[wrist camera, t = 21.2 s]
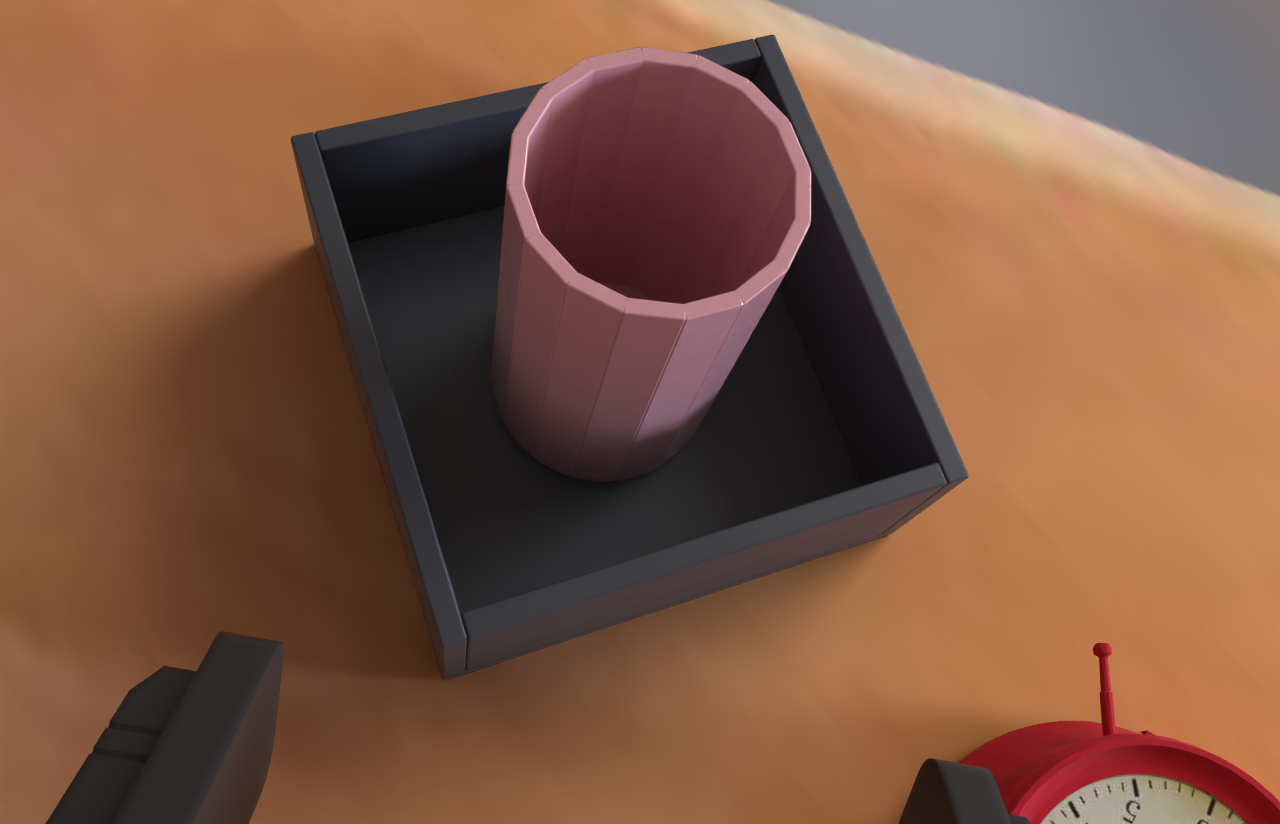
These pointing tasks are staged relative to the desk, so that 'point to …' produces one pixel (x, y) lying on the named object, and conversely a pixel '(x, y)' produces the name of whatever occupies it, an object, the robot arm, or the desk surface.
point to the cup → (637, 255)
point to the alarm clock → (1117, 774)
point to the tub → (619, 510)
